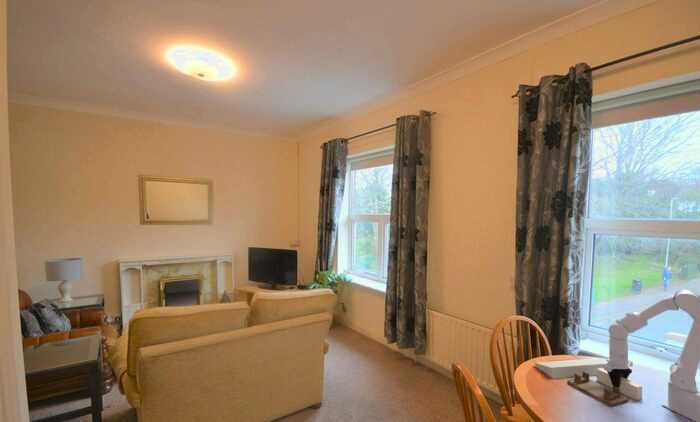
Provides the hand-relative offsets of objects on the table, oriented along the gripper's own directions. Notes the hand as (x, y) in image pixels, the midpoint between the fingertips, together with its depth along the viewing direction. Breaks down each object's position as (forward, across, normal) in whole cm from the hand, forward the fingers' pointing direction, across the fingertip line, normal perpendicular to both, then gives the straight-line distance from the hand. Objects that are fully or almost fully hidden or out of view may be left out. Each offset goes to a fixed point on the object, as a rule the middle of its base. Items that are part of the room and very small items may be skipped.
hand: (618, 385), depth 120 cm
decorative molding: (+2, +1, -16) cm, 16 cm away
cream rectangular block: (+2, 0, 0) cm, 2 cm away
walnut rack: (+1, +11, -2) cm, 11 cm away
